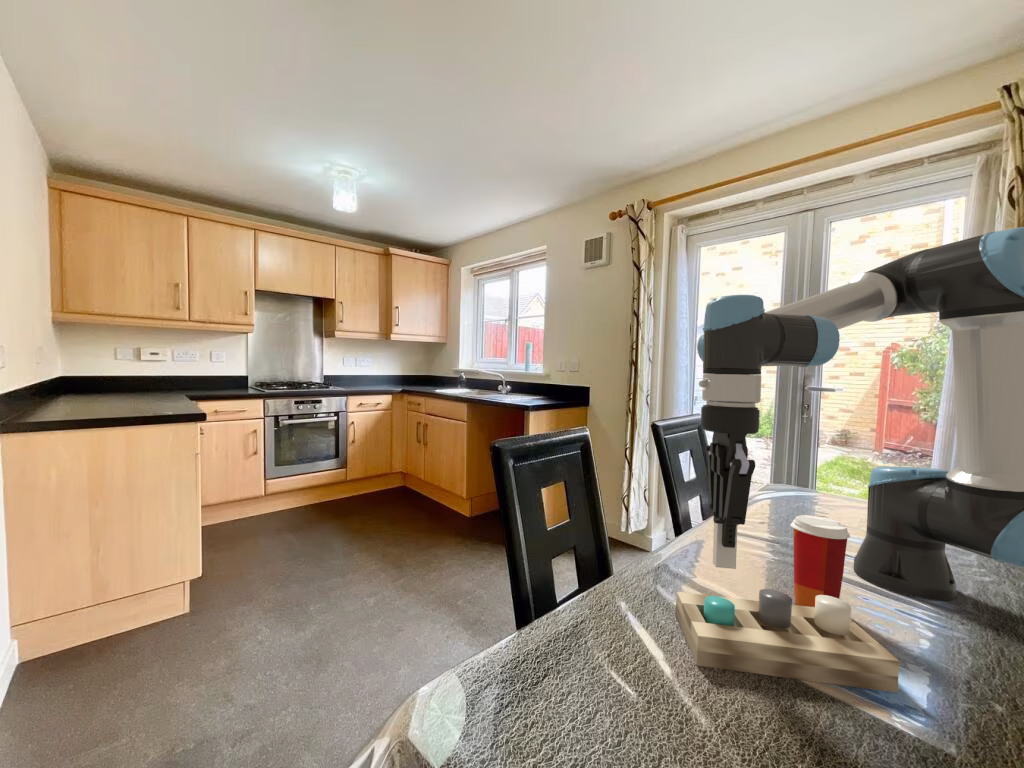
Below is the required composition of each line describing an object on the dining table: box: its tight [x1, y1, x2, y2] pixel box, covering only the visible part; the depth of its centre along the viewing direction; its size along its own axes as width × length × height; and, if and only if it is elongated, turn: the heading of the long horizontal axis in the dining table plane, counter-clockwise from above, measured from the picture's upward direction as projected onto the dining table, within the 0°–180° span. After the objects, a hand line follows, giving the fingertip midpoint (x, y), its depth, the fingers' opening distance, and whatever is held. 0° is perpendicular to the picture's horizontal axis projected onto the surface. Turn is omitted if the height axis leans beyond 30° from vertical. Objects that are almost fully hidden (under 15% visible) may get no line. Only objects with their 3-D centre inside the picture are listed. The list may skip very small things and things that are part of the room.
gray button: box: [758, 588, 793, 628], centre depth 61 cm, size 4×4×4 cm
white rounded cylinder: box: [814, 595, 852, 635], centre depth 60 cm, size 4×4×4 cm
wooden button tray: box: [675, 591, 900, 694], centre depth 61 cm, size 24×12×4 cm, turn 82°
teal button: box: [703, 595, 735, 626], centre depth 62 cm, size 4×4×4 cm
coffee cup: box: [790, 514, 851, 607], centre depth 73 cm, size 8×8×15 cm
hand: (724, 565), depth 62 cm, fingers closed
